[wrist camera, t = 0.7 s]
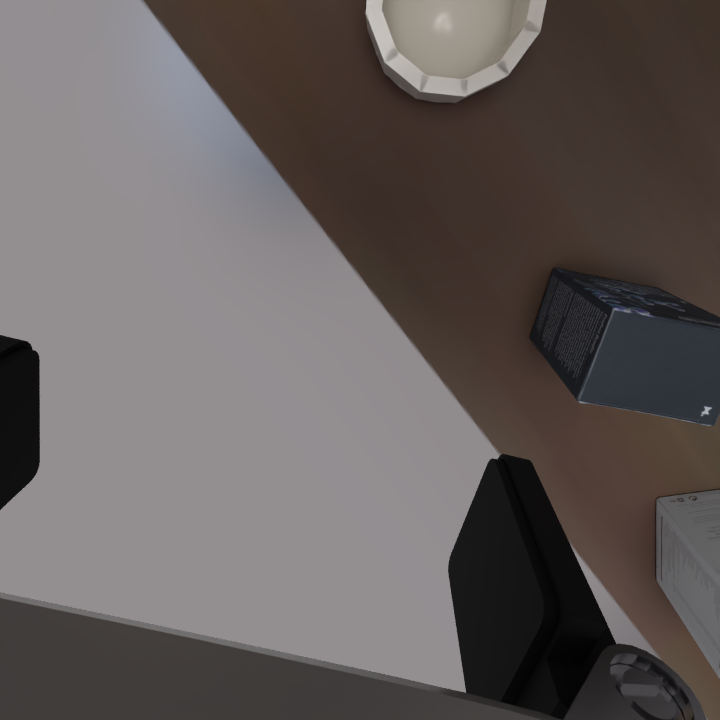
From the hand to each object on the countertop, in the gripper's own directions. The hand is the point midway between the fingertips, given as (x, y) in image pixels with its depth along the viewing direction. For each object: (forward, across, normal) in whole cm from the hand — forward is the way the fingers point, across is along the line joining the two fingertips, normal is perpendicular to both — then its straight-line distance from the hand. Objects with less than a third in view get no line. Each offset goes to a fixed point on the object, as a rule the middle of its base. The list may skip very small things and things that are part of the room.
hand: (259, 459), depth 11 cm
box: (+28, -18, +1) cm, 33 cm away
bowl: (+27, -3, -14) cm, 31 cm away
